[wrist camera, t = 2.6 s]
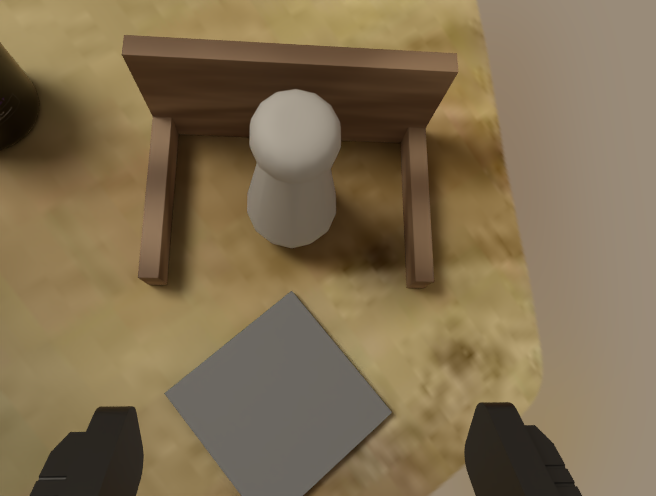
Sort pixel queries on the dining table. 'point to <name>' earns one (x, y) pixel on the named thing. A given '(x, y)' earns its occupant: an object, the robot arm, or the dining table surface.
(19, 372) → the dining table surface
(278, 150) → the salt shaker
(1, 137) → the supplement bottle
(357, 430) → the mat
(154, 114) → the wooden stand
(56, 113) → the dining table surface
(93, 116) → the dining table surface
